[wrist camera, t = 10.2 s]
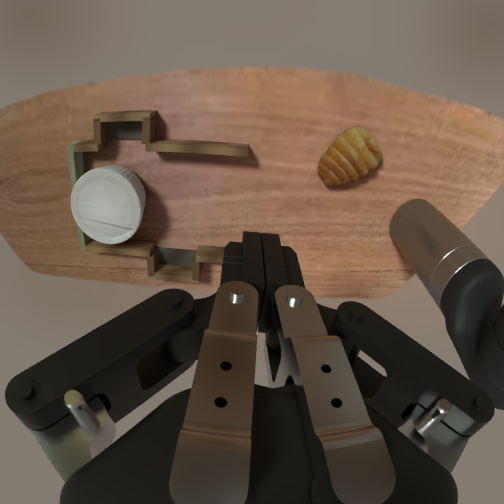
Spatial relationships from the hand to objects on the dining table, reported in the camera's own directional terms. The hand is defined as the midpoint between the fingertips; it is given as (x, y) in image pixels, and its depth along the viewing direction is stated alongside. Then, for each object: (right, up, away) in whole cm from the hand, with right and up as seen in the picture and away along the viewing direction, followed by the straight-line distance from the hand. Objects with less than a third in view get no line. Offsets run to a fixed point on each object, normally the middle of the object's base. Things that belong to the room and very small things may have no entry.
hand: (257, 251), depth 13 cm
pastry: (+13, +14, +27) cm, 33 cm away
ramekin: (-20, +9, +29) cm, 36 cm away
